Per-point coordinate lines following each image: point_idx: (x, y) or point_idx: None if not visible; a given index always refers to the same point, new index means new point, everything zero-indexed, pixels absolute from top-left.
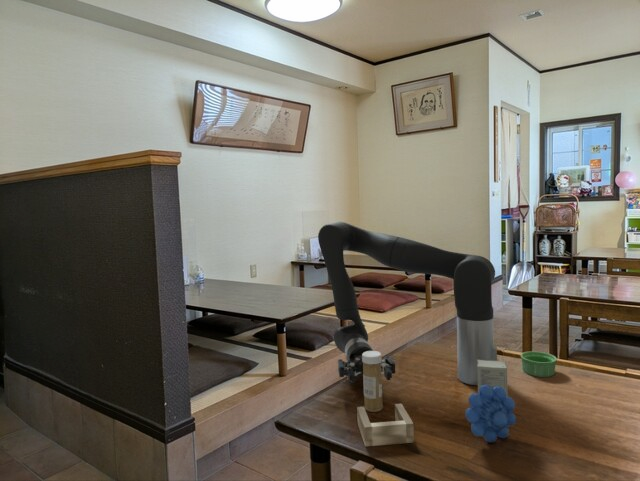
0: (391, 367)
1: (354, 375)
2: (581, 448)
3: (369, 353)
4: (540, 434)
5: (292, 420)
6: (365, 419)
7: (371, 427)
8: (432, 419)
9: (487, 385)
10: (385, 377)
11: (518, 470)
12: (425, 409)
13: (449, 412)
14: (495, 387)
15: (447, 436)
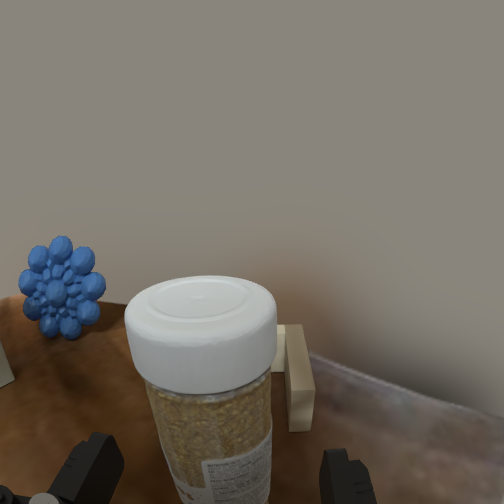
0: (29, 499)
1: (326, 450)
2: (12, 311)
3: (215, 298)
4: (7, 332)
5: (498, 432)
6: (295, 343)
7: (285, 326)
8: (91, 410)
9: (58, 236)
10: (110, 499)
11: (104, 306)
12: (65, 450)
13: (33, 416)
14: (42, 246)
15: (117, 362)
